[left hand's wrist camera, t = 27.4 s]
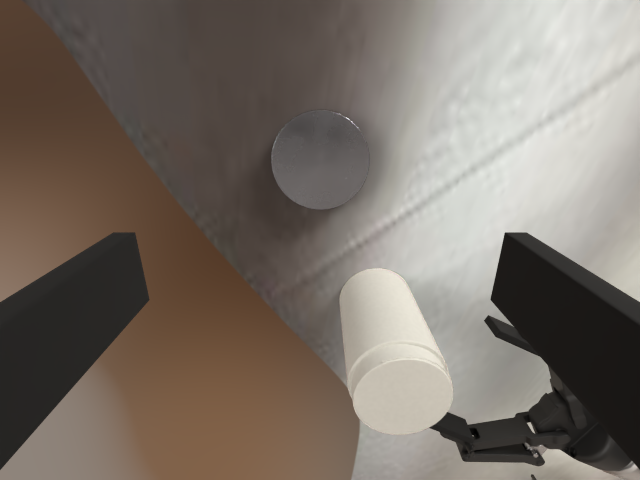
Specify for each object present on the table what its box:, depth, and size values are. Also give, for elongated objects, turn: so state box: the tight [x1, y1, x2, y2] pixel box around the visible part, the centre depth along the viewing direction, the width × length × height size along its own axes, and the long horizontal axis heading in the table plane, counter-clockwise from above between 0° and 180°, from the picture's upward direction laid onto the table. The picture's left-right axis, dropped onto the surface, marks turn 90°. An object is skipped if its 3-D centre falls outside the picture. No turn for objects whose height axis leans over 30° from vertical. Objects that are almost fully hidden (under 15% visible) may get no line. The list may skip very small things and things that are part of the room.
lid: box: [271, 110, 370, 210], centre depth 36 cm, size 10×10×2 cm
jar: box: [339, 268, 453, 435], centre depth 36 cm, size 9×9×16 cm
